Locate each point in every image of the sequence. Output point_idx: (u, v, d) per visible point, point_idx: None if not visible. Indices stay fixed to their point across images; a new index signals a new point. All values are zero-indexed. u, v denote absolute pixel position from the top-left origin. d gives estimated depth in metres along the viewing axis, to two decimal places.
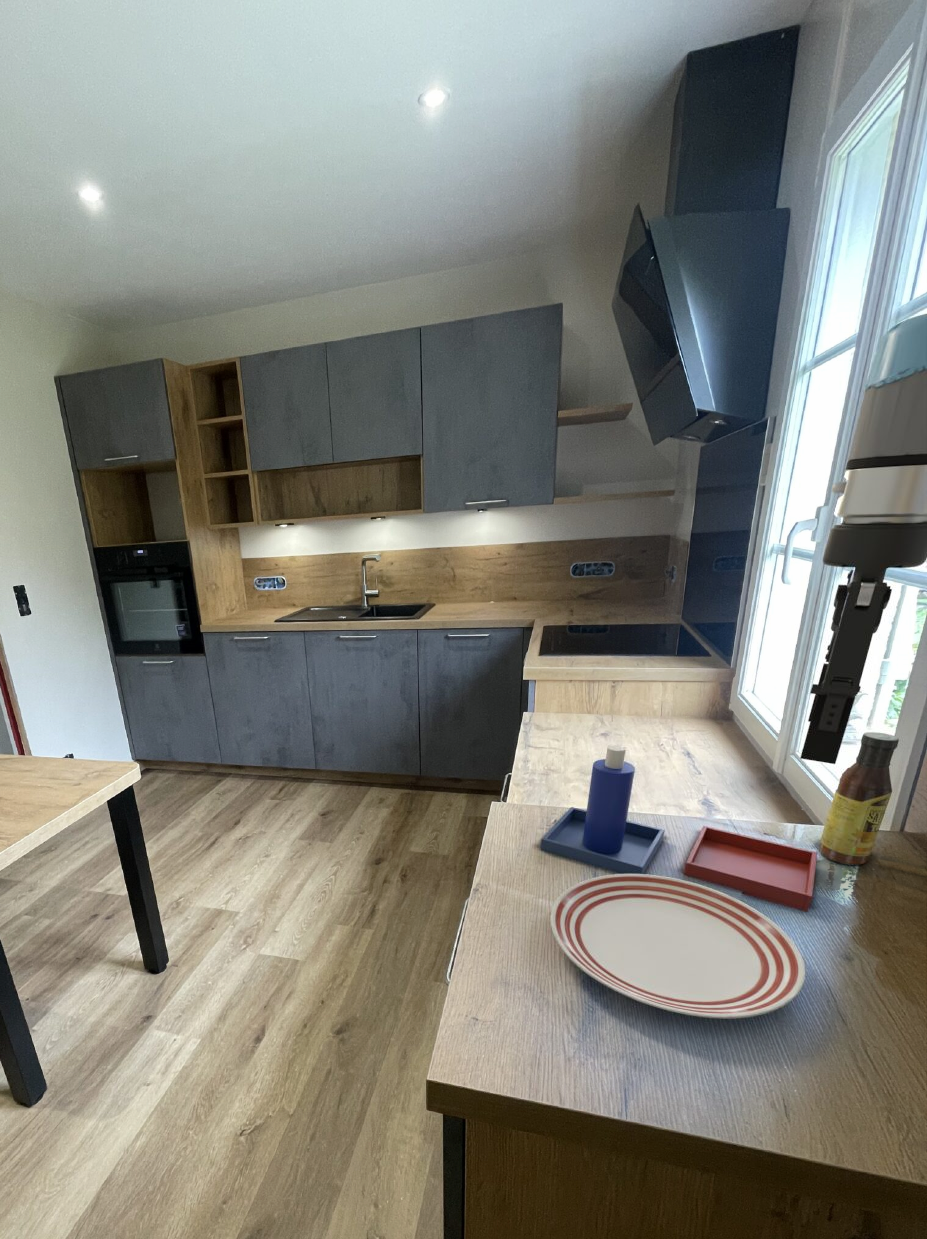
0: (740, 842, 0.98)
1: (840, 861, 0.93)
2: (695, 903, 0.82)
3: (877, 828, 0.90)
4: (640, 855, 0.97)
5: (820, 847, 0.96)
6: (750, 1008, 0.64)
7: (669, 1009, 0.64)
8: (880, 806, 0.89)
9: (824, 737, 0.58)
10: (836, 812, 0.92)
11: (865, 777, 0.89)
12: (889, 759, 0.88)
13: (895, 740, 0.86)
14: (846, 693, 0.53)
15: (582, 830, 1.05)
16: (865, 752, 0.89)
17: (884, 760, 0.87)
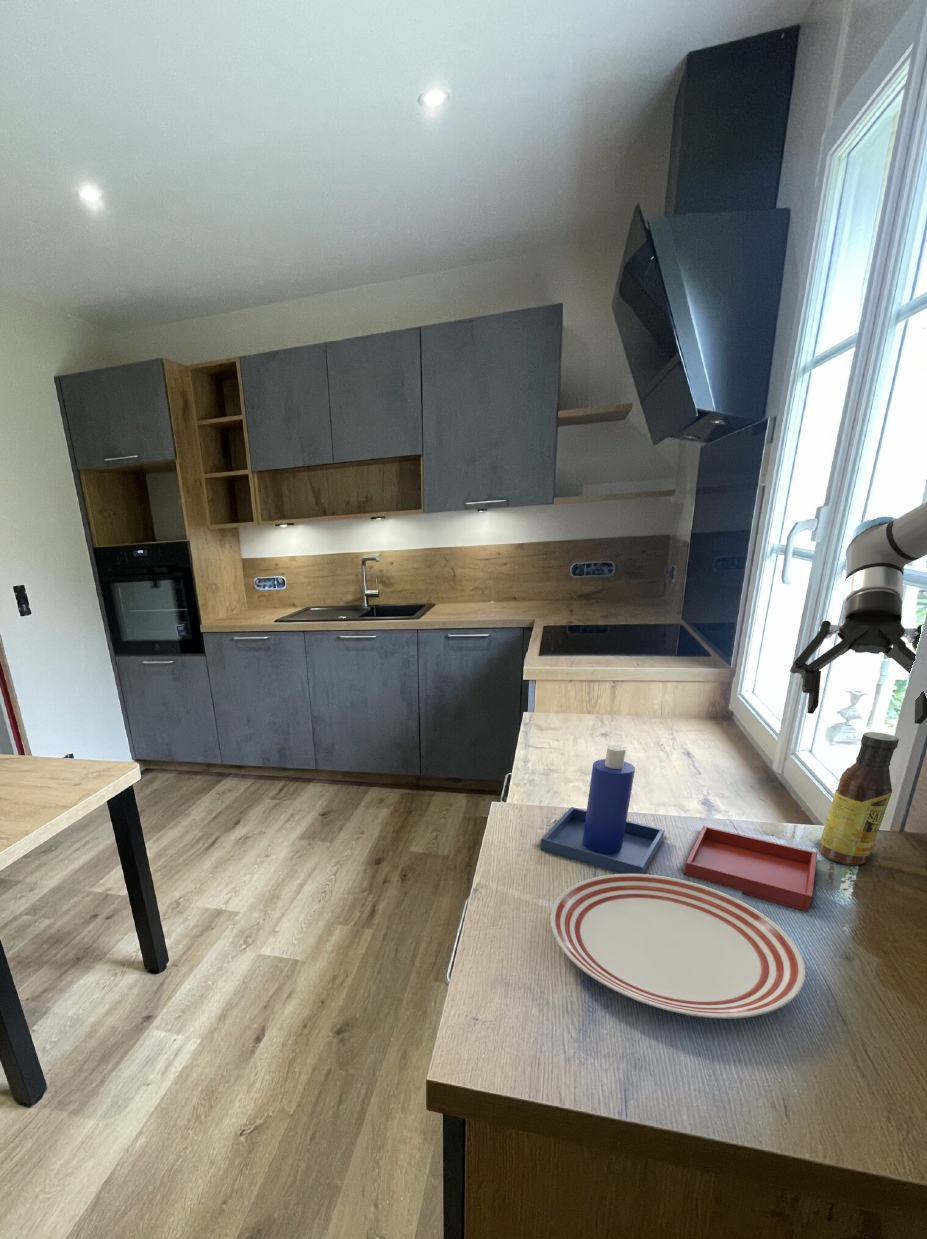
0: (740, 842, 0.98)
1: (840, 861, 0.93)
2: (695, 903, 0.82)
3: (877, 828, 0.90)
4: (640, 855, 0.97)
5: (820, 847, 0.96)
6: (750, 1008, 0.64)
7: (669, 1009, 0.64)
8: (880, 806, 0.89)
9: (810, 696, 1.00)
10: (836, 812, 0.92)
11: (865, 777, 0.89)
12: (889, 759, 0.88)
13: (895, 740, 0.86)
14: (793, 666, 1.02)
15: (582, 830, 1.05)
16: (865, 752, 0.89)
17: (884, 760, 0.87)
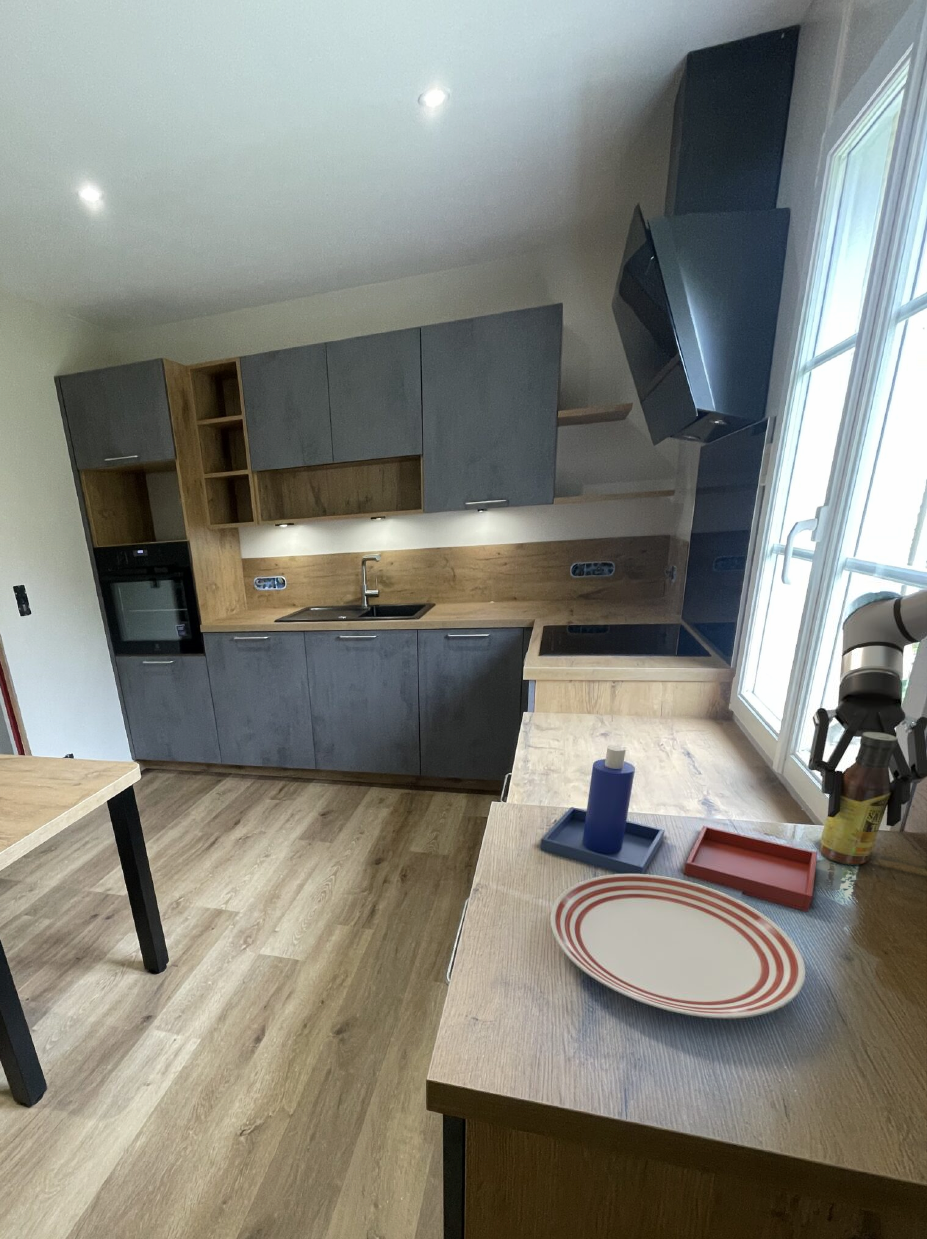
0: (740, 842, 0.98)
1: (840, 861, 0.93)
2: (695, 903, 0.82)
3: (877, 828, 0.90)
4: (640, 855, 0.97)
5: (820, 847, 0.96)
6: (750, 1008, 0.64)
7: (669, 1009, 0.64)
8: (880, 805, 0.89)
9: (831, 798, 0.92)
10: None
11: (864, 777, 0.89)
12: (888, 759, 0.88)
13: (894, 740, 0.86)
14: (812, 764, 0.94)
15: (582, 830, 1.05)
16: (865, 752, 0.89)
17: (883, 760, 0.87)
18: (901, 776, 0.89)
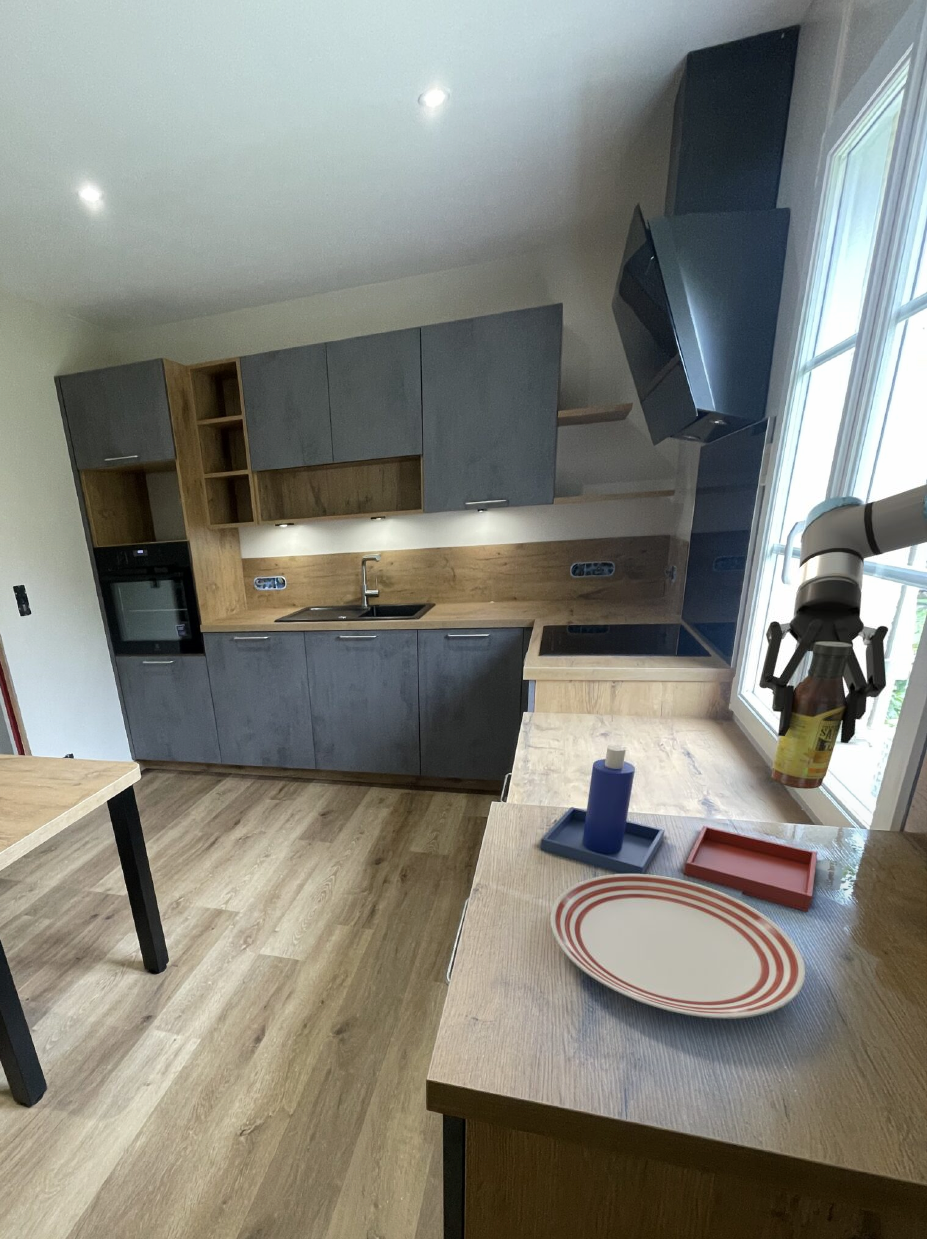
0: (740, 842, 0.98)
1: (792, 785, 0.85)
2: (695, 903, 0.82)
3: (831, 747, 0.83)
4: (640, 855, 0.97)
5: (772, 772, 0.89)
6: (750, 1008, 0.64)
7: (669, 1009, 0.64)
8: (833, 720, 0.81)
9: (782, 715, 0.84)
10: (787, 732, 0.85)
11: (816, 690, 0.81)
12: (842, 668, 0.80)
13: (848, 646, 0.79)
14: (762, 680, 0.86)
15: (582, 830, 1.05)
16: (817, 662, 0.81)
17: (837, 669, 0.80)
18: (857, 688, 0.81)
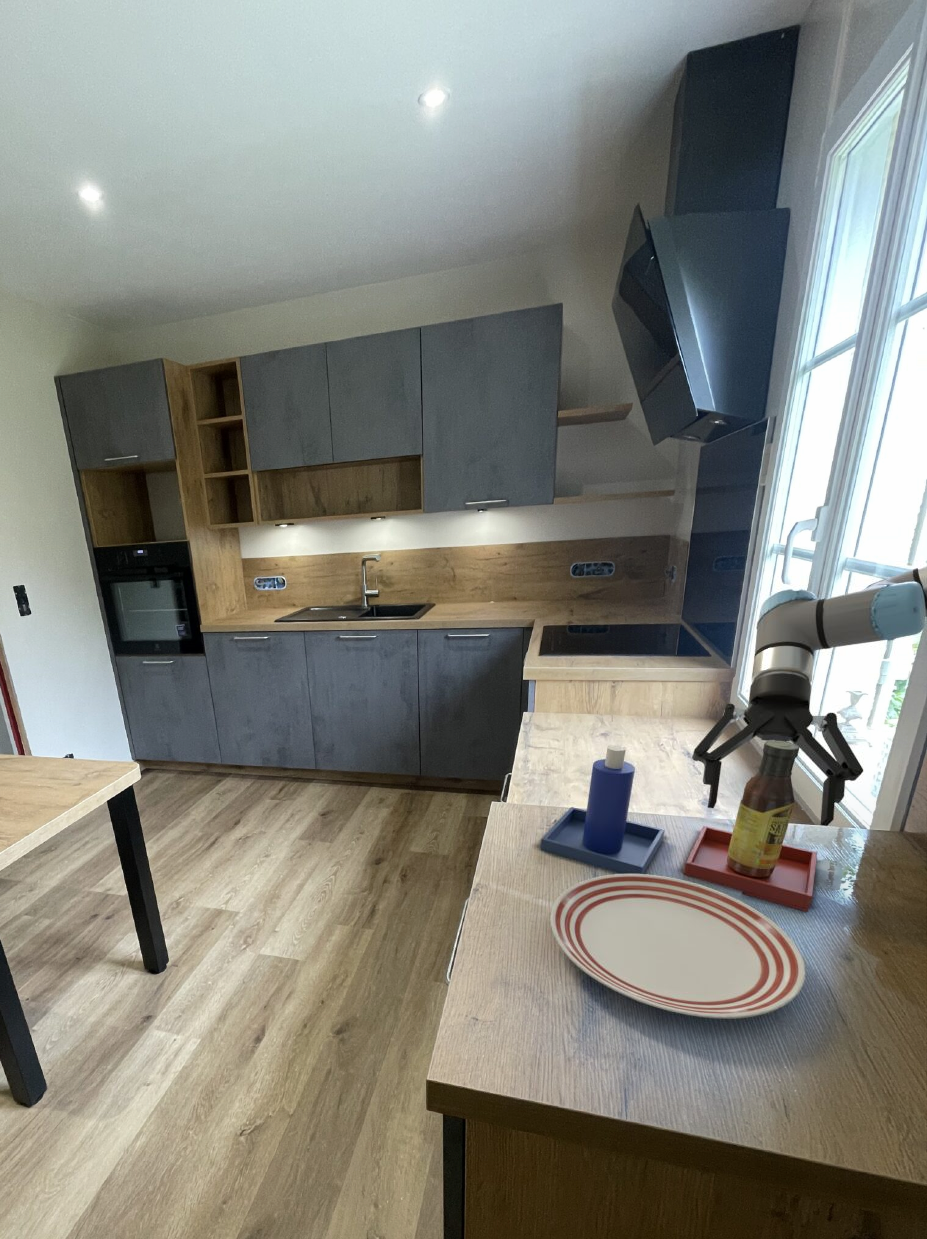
0: None
1: (745, 874, 0.90)
2: (695, 903, 0.82)
3: (781, 840, 0.87)
4: (640, 855, 0.97)
5: (727, 859, 0.93)
6: (750, 1008, 0.64)
7: (669, 1009, 0.64)
8: (782, 817, 0.85)
9: (711, 789, 0.90)
10: (740, 823, 0.89)
11: (766, 787, 0.85)
12: (790, 768, 0.84)
13: (794, 749, 0.83)
14: (694, 754, 0.92)
15: (582, 830, 1.05)
16: (766, 761, 0.85)
17: (784, 769, 0.84)
18: (836, 774, 0.84)
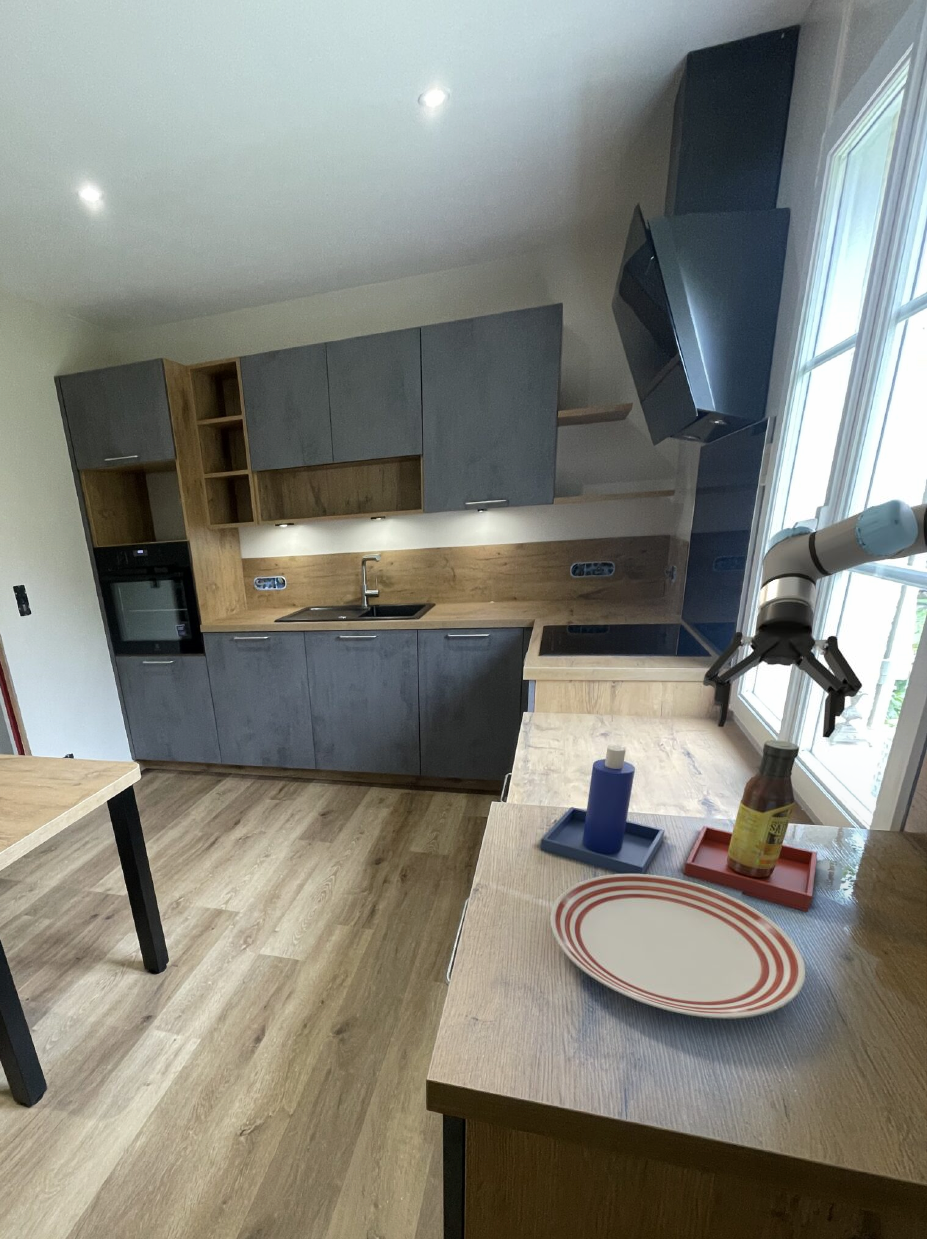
0: None
1: (745, 874, 0.90)
2: (695, 903, 0.82)
3: (781, 840, 0.87)
4: (640, 855, 0.97)
5: (727, 859, 0.93)
6: (750, 1008, 0.64)
7: (669, 1009, 0.64)
8: (782, 817, 0.85)
9: (720, 709, 0.97)
10: (740, 823, 0.89)
11: (766, 787, 0.85)
12: (790, 768, 0.84)
13: (794, 749, 0.83)
14: (705, 679, 1.00)
15: (582, 830, 1.05)
16: (766, 761, 0.85)
17: (784, 769, 0.84)
18: (837, 690, 0.91)
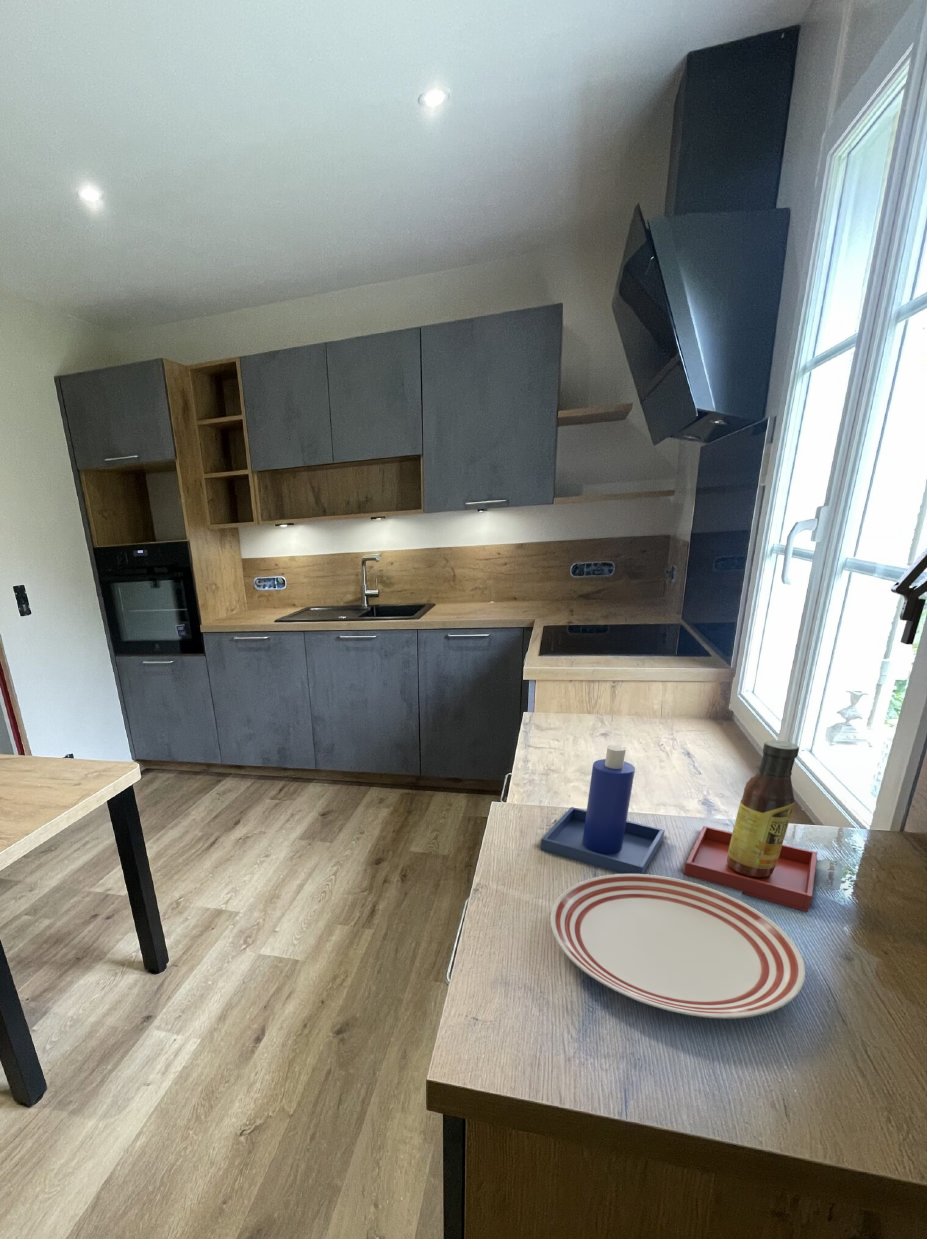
0: None
1: (745, 874, 0.90)
2: (695, 903, 0.82)
3: (781, 840, 0.87)
4: (640, 855, 0.97)
5: (727, 859, 0.93)
6: (750, 1008, 0.64)
7: (669, 1009, 0.64)
8: (782, 817, 0.85)
9: (907, 626, 0.91)
10: (740, 823, 0.89)
11: (766, 787, 0.85)
12: (790, 768, 0.84)
13: (794, 749, 0.83)
14: (895, 591, 0.91)
15: (582, 830, 1.05)
16: (766, 761, 0.85)
17: (784, 769, 0.84)
18: None
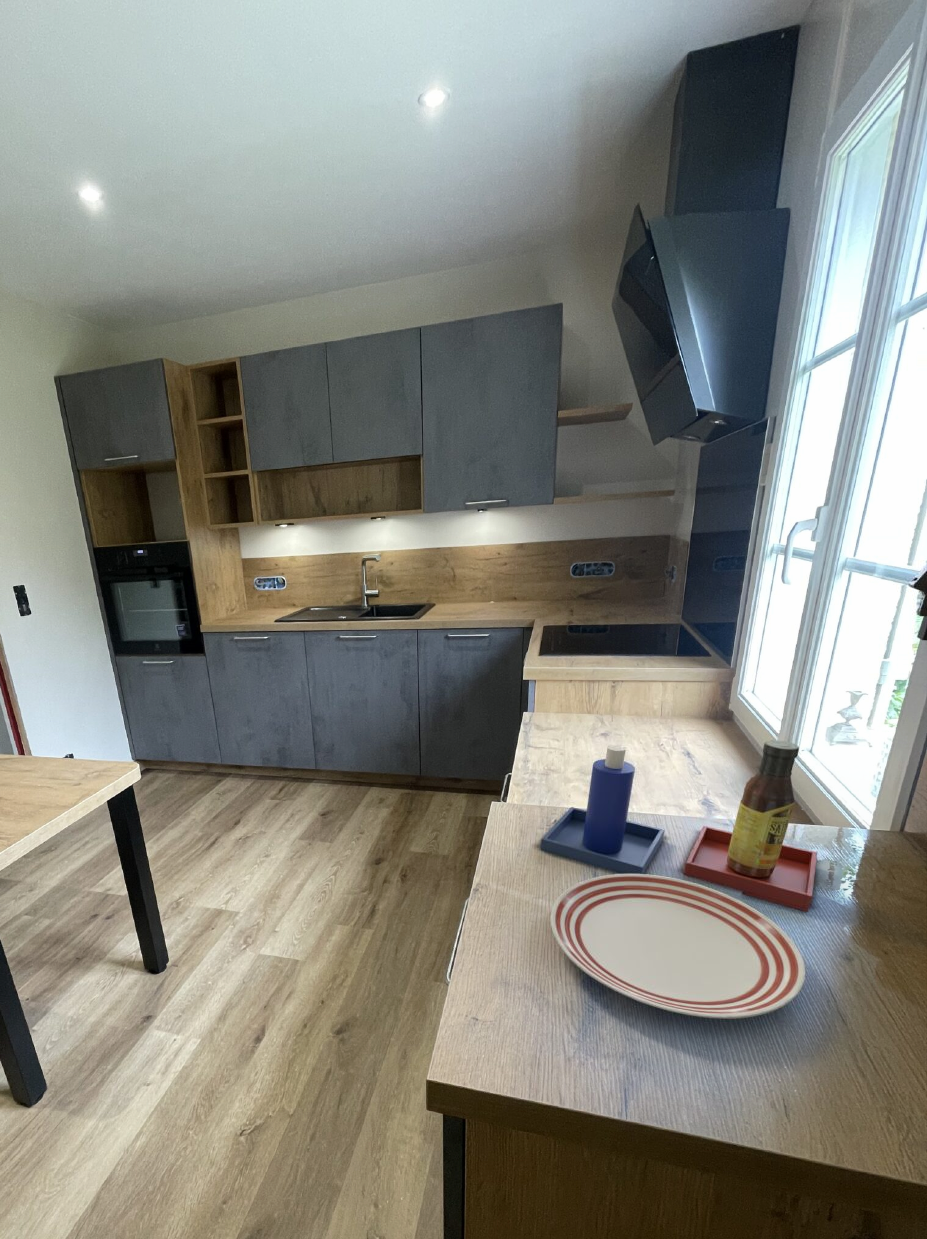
0: None
1: (745, 874, 0.90)
2: (695, 903, 0.82)
3: (781, 840, 0.87)
4: (640, 855, 0.97)
5: (727, 859, 0.93)
6: (750, 1008, 0.64)
7: (669, 1009, 0.64)
8: (782, 817, 0.85)
9: (924, 622, 0.91)
10: (740, 823, 0.89)
11: (766, 787, 0.85)
12: (790, 768, 0.84)
13: (794, 749, 0.83)
14: (912, 587, 0.90)
15: (582, 830, 1.05)
16: (766, 761, 0.85)
17: (784, 769, 0.84)
18: None
